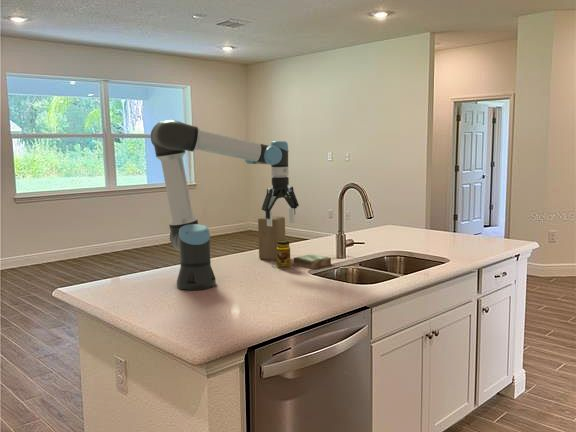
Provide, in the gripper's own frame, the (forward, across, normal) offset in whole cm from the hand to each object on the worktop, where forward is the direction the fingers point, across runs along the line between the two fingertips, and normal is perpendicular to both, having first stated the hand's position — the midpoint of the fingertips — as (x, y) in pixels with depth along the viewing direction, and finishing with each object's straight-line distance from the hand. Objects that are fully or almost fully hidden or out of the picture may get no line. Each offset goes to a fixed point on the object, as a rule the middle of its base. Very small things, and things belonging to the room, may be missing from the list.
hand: (281, 224), depth 229 cm
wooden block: (+19, +9, +16) cm, 26 cm away
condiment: (+19, -1, -2) cm, 19 cm away
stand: (+19, +12, -7) cm, 24 cm away
